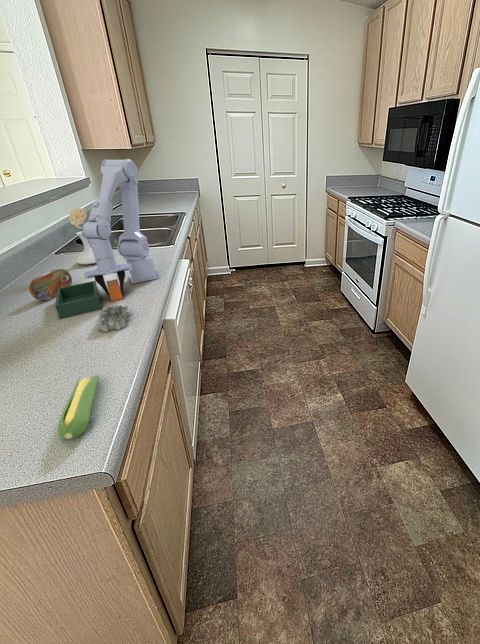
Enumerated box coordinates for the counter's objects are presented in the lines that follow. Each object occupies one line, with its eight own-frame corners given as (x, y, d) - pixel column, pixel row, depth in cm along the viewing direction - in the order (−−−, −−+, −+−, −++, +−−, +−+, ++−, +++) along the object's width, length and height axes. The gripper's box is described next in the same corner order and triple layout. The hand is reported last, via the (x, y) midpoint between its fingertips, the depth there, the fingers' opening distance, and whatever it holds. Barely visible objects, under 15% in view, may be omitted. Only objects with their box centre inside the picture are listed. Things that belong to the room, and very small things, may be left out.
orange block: (120, 291, 122) (117, 279, 120) (122, 298, 117) (119, 285, 114) (110, 293, 120) (106, 281, 118) (111, 301, 115) (107, 288, 113)
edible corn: (57, 449, 62) (48, 432, 60) (81, 381, 78) (75, 365, 76) (88, 441, 63) (80, 424, 61) (105, 375, 80) (100, 360, 78)
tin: (40, 304, 114) (31, 282, 110) (33, 303, 115) (23, 281, 111) (75, 286, 127) (68, 265, 123) (68, 285, 128) (60, 265, 124)
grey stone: (124, 329, 99) (121, 317, 97) (97, 333, 97) (92, 321, 95) (131, 312, 108) (128, 301, 106) (106, 315, 106) (102, 304, 104)
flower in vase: (72, 263, 148) (52, 207, 137) (97, 256, 157) (80, 202, 146) (88, 269, 142) (68, 210, 131) (113, 261, 151) (97, 205, 139)
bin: (99, 291, 122) (95, 280, 120) (101, 308, 110) (97, 296, 108) (61, 299, 117) (57, 288, 115) (60, 318, 105) (55, 306, 103)
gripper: (79, 264, 105) (92, 302, 112) (129, 255, 112) (138, 291, 118) (79, 258, 111) (91, 294, 117) (126, 250, 117) (136, 284, 124)
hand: (115, 292), depth 118 cm, fingers open, 4 cm apart
